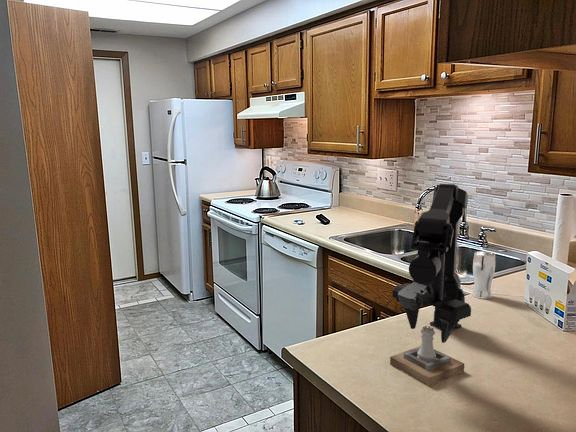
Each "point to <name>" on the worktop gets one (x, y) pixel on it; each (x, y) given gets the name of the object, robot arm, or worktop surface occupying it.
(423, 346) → the rook chess piece
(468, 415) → the worktop surface
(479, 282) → the beer glass
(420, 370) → the plinth
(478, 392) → the worktop surface
